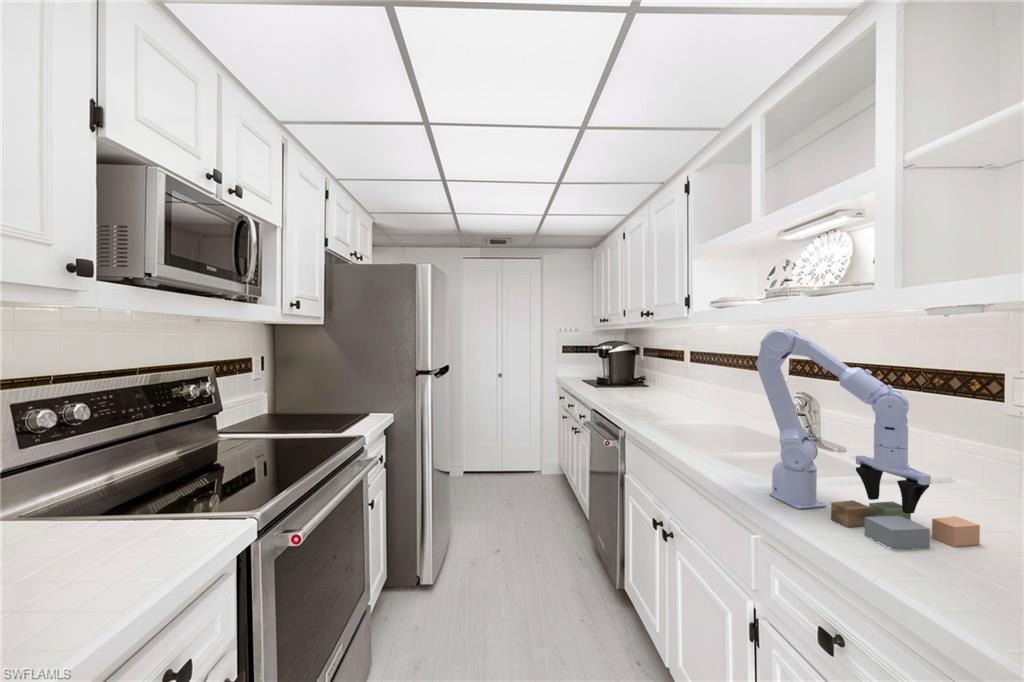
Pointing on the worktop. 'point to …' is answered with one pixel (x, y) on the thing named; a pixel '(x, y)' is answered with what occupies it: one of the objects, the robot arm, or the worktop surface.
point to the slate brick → (897, 532)
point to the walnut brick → (849, 513)
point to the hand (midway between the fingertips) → (890, 505)
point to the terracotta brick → (956, 531)
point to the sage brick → (887, 510)
